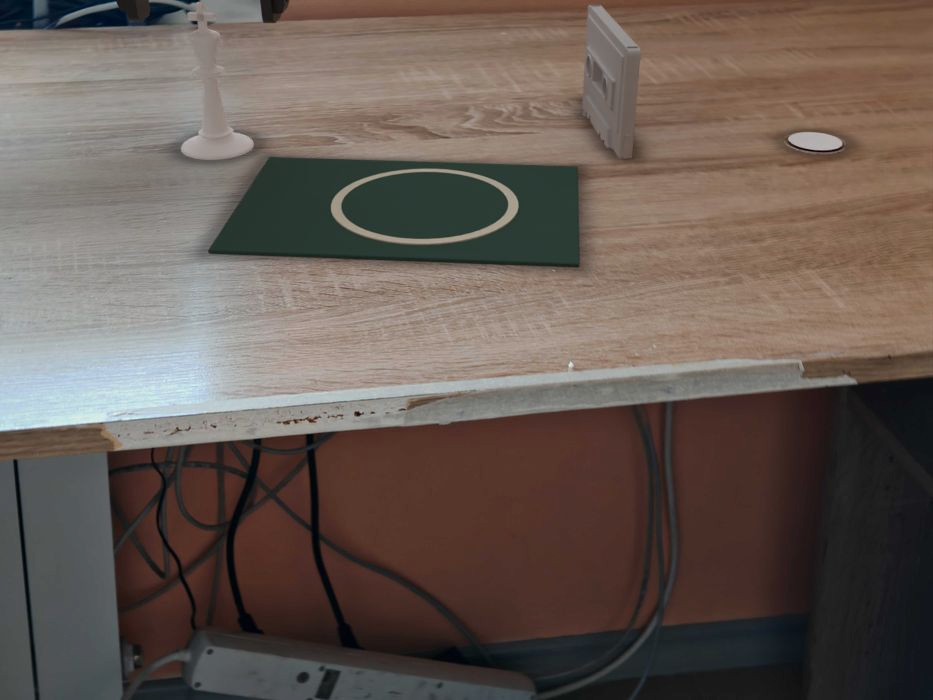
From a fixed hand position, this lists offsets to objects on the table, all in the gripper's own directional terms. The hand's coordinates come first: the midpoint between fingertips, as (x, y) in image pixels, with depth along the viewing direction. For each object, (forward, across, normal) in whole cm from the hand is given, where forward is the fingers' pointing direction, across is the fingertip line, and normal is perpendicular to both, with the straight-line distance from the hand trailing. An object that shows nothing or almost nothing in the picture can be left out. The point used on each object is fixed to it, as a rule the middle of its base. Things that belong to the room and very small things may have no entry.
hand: (206, 19), depth 68 cm
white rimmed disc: (+10, +40, +4) cm, 41 cm away
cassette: (+10, +26, +6) cm, 28 cm away
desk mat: (+9, +14, -9) cm, 19 cm away
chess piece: (+9, 0, 0) cm, 9 cm away
